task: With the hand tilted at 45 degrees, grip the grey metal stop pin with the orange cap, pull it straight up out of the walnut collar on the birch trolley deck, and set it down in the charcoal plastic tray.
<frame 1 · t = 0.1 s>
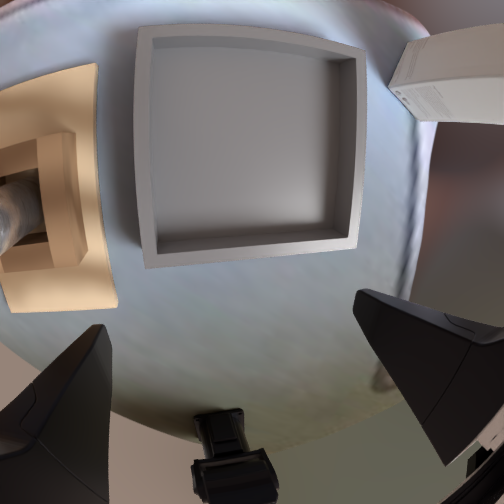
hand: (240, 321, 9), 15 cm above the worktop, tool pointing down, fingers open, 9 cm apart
stop pin: (31, 201, 17), point 1 cm above the worktop, touching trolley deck
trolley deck: (36, 198, 18), on the worktop
skincare box: (411, 78, 22), on the worktop
tray: (250, 140, 21), on the worktop
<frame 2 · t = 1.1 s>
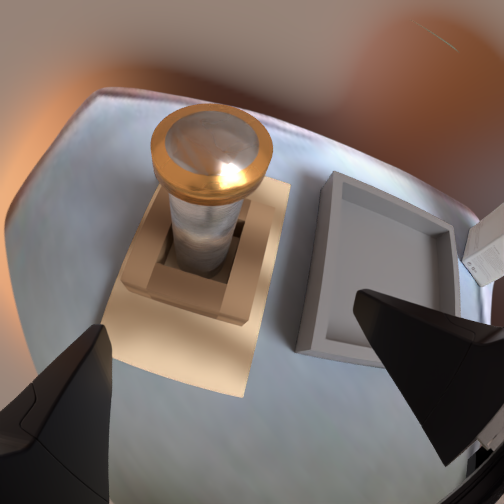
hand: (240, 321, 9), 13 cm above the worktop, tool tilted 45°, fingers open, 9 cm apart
stop pin: (200, 256, 23), point 1 cm above the worktop, touching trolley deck
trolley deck: (200, 260, 24), on the worktop
skincare box: (474, 256, 32), on the worktop
tray: (385, 284, 26), on the worktop
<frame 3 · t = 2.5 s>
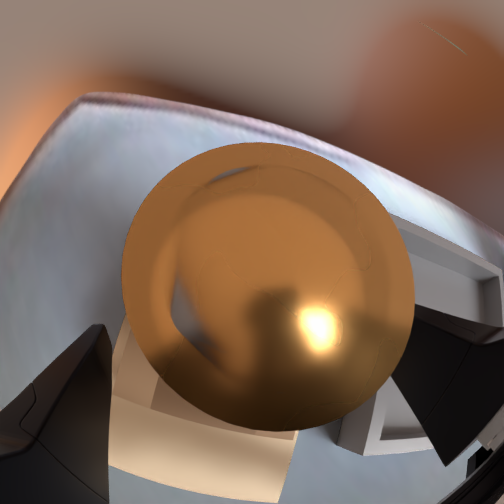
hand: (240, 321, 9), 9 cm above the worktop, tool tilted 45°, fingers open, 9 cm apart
stop pin: (220, 342, 16), point 1 cm above the worktop, touching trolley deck
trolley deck: (219, 343, 17), on the worktop
tray: (434, 347, 20), on the worktop
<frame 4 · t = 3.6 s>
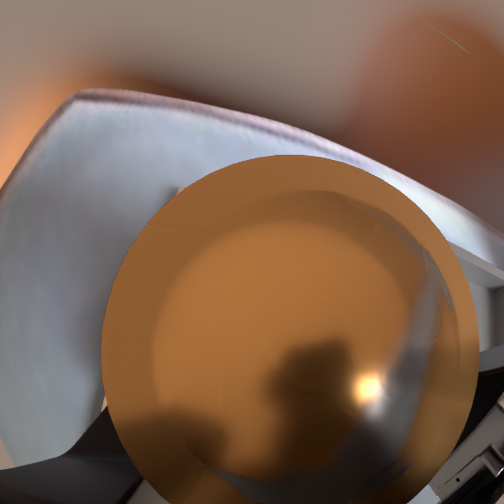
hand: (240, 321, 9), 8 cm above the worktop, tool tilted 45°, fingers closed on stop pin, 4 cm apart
stop pin: (226, 364, 15), point 1 cm above the worktop, touching gripper, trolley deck
tray: (446, 359, 18), on the worktop
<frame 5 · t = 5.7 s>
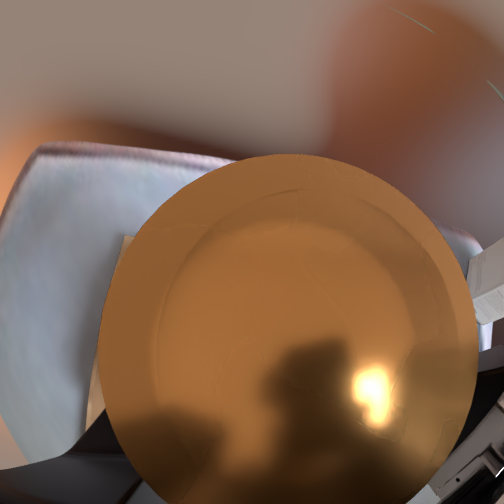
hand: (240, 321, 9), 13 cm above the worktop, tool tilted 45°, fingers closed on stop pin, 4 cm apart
stop pin: (225, 364, 15), point 7 cm above the worktop, touching gripper
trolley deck: (170, 372, 20), on the worktop
skincare box: (474, 290, 29), on the worktop
when the fingers open (9 cm above the worktop, at t = 7.7 s): stop pin drops 1 cm, resting on tray.
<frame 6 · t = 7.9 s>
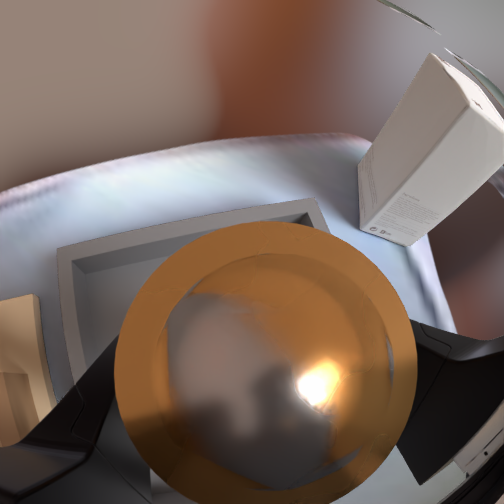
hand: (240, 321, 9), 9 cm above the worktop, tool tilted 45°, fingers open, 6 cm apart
stop pin: (224, 367, 16), point 1 cm above the worktop, touching tray
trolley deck: (8, 435, 11), on the worktop
skincare box: (379, 203, 25), on the worktop
tray: (222, 364, 17), on the worktop
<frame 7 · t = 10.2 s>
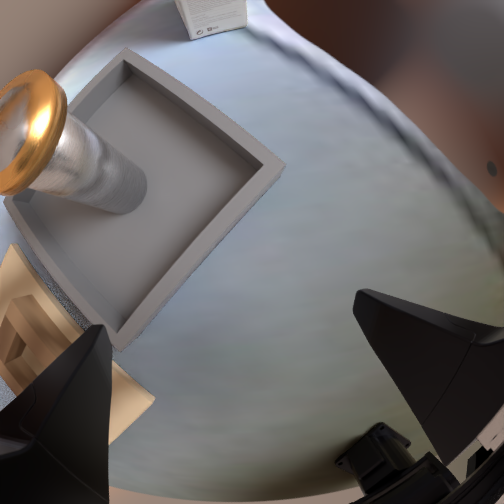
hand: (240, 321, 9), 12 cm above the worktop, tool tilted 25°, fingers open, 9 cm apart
stop pin: (123, 188, 20), point 1 cm above the worktop, touching tray
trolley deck: (49, 357, 21), on the worktop
skincare box: (207, 12, 21), on the worktop
tray: (127, 188, 21), on the worktop
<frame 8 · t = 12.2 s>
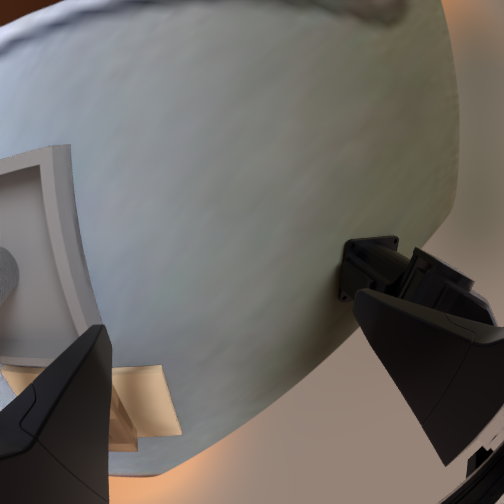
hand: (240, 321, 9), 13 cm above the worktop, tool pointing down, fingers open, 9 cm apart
stop pin: (1, 269, 16), point 1 cm above the worktop, touching tray
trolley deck: (90, 404, 25), on the worktop
tray: (5, 263, 17), on the worktop
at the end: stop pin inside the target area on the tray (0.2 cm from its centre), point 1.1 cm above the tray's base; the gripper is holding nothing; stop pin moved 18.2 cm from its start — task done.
